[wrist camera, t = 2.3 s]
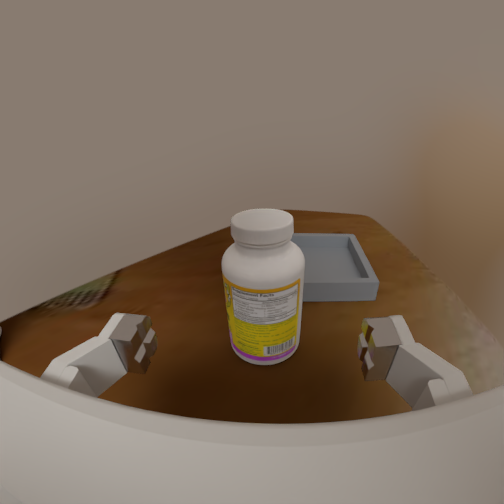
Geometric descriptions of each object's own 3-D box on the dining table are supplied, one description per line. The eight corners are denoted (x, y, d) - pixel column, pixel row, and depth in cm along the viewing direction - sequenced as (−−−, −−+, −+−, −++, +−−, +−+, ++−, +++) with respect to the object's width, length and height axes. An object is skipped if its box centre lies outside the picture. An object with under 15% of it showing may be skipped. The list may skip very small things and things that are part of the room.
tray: (259, 300, 33) (259, 282, 32) (265, 248, 46) (265, 233, 45) (375, 300, 32) (379, 282, 31) (351, 248, 44) (353, 234, 43)
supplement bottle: (248, 315, 31) (242, 201, 25) (306, 329, 28) (315, 208, 23) (218, 356, 26) (199, 228, 20) (285, 377, 23) (291, 241, 17)
